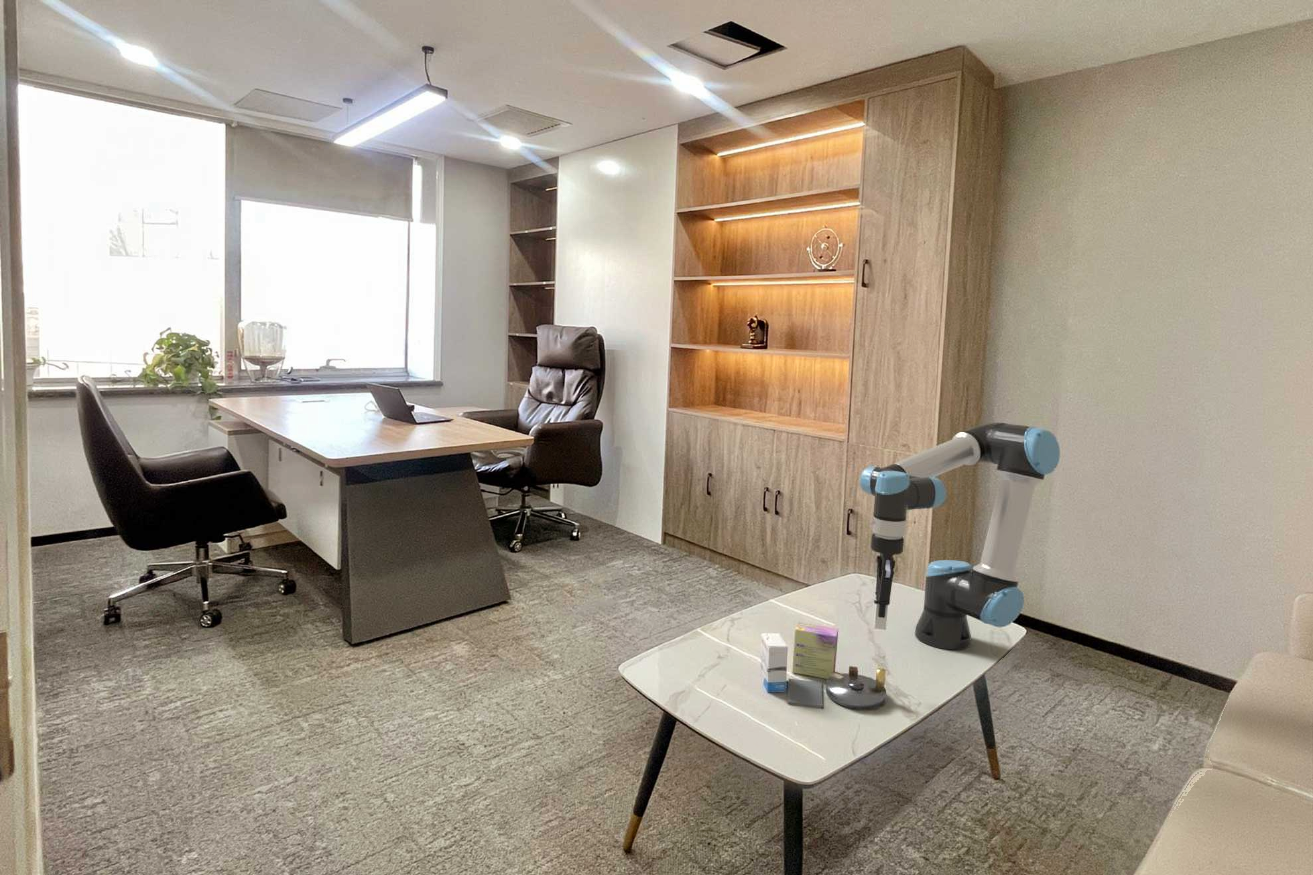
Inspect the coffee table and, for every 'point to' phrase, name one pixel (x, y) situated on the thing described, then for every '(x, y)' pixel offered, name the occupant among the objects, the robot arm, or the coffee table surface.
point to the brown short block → (853, 670)
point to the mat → (805, 693)
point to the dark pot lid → (857, 690)
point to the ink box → (773, 662)
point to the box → (815, 650)
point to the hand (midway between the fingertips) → (879, 627)
